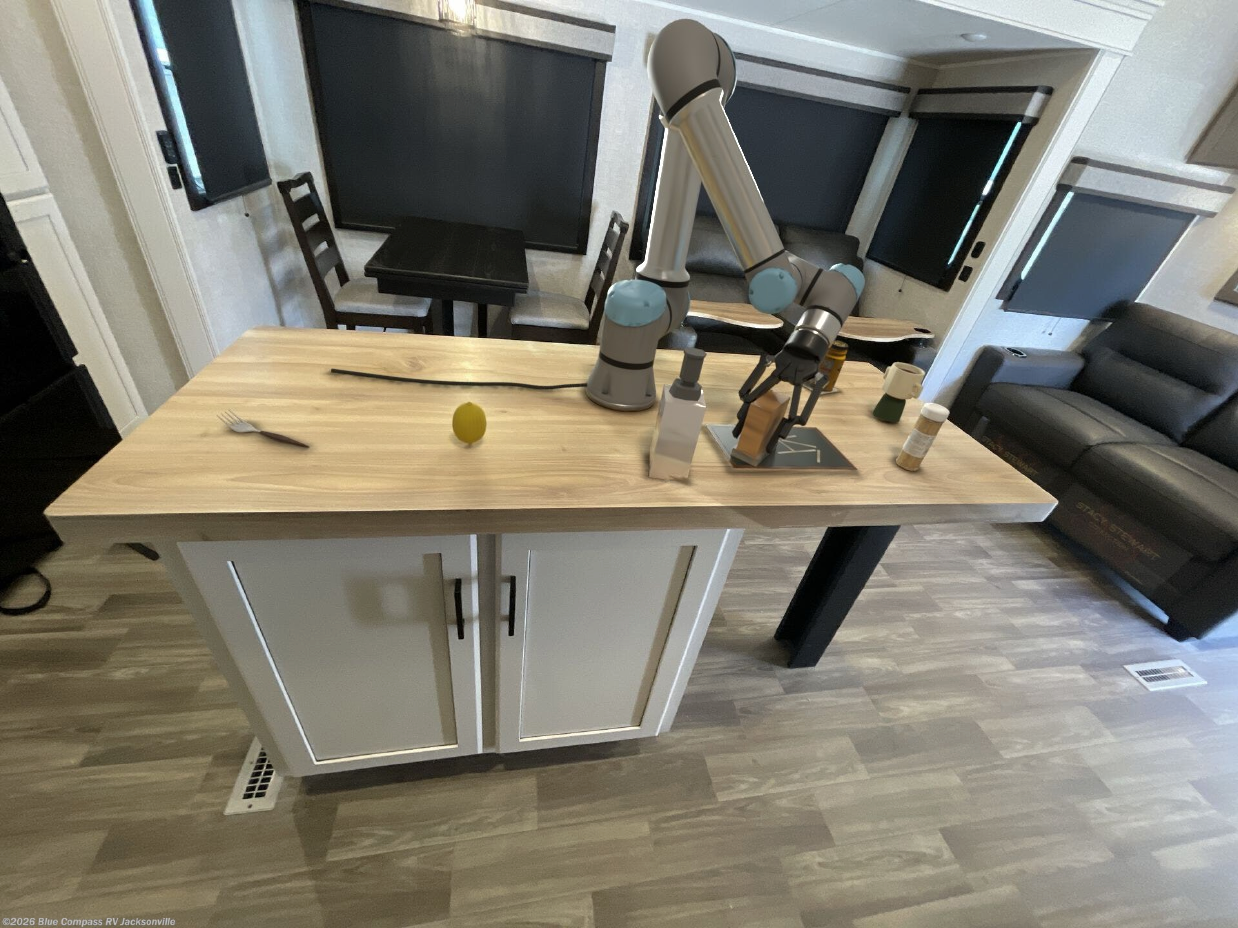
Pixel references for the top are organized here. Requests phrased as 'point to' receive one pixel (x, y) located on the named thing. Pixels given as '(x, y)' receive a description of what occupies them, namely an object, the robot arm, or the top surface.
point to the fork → (248, 428)
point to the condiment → (831, 366)
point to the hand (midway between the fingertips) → (751, 442)
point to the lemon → (469, 422)
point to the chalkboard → (787, 450)
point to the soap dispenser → (679, 420)
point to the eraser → (760, 427)
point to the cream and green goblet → (898, 390)
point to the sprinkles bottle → (922, 436)
